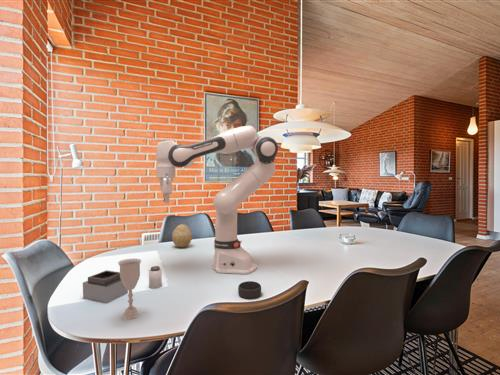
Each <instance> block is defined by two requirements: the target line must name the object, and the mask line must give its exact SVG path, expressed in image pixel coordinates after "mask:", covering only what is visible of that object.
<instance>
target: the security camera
mask: <svg viewBox="0 0 500 375" xmlns="http://www.w3.org/2000/svg"><path fill="white" fill-rule="evenodd" d="M162 273H163V272H162V268H160V266H158V265H155V266H150V269H149V270H148V287H149V289H151V290H157V289H160V288H162V286H163V284H162V279H163V278H162Z"/></svg>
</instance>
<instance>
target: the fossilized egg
mask: <svg viewBox="0 0 500 375" xmlns="http://www.w3.org/2000/svg"><path fill="white" fill-rule="evenodd" d="M192 239H193V233H192V231H191V229H190V228H189V226H187V225H186V224H184V223H181V224H178V225H177V226H176V227H175V228H174V230H173V232H172V234H171V240H172V243H173V244H174V246H176V247H177V248H185V247H187V246H189V245H190V244H191V242H192Z"/></svg>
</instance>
